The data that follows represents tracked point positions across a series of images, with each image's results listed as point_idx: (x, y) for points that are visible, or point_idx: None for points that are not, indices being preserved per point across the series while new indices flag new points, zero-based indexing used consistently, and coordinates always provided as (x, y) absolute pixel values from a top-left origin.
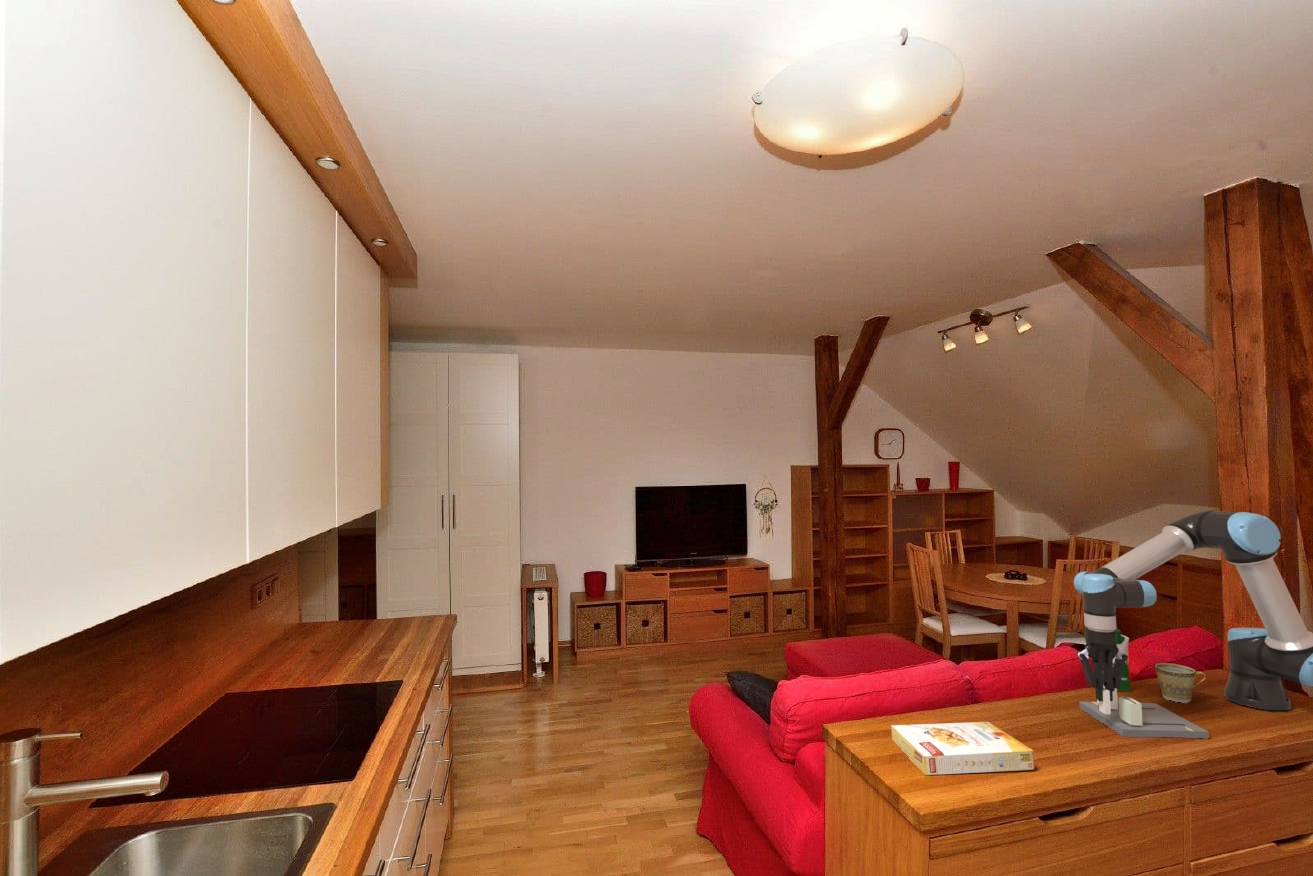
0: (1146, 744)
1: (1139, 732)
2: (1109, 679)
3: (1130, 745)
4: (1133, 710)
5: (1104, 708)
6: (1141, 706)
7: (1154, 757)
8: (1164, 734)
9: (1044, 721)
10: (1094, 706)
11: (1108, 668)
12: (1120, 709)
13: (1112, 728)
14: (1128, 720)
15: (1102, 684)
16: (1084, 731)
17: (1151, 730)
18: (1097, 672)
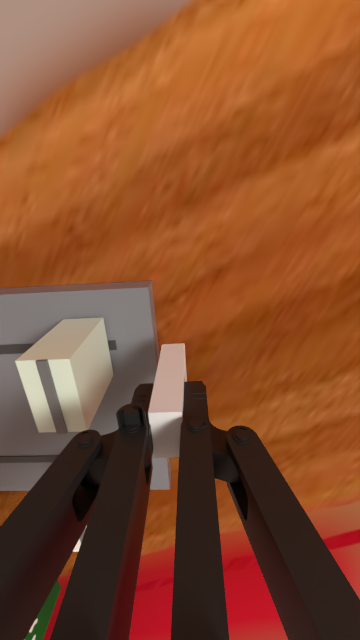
0: (101, 221)
1: (91, 288)
2: (126, 484)
3: (163, 203)
4: (68, 343)
5: (184, 357)
6: (6, 470)
7: (128, 82)
8: (12, 290)
9: (340, 376)
10: None
11: (100, 614)
12: (101, 390)
13: (156, 335)
14: (101, 335)
15: (186, 447)
16: (257, 311)
17: (46, 292)
18: (220, 555)
